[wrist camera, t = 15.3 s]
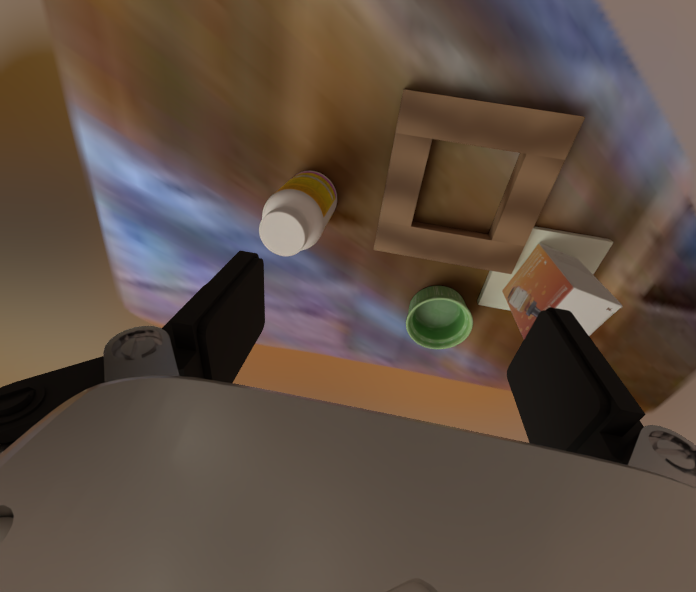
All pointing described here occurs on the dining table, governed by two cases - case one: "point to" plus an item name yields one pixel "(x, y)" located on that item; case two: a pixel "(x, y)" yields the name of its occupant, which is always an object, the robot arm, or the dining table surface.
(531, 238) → the cream square tile
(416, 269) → the dining table surface
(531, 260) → the small box
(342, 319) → the dining table surface
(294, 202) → the supplement bottle
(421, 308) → the ramekin
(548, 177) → the holder block
